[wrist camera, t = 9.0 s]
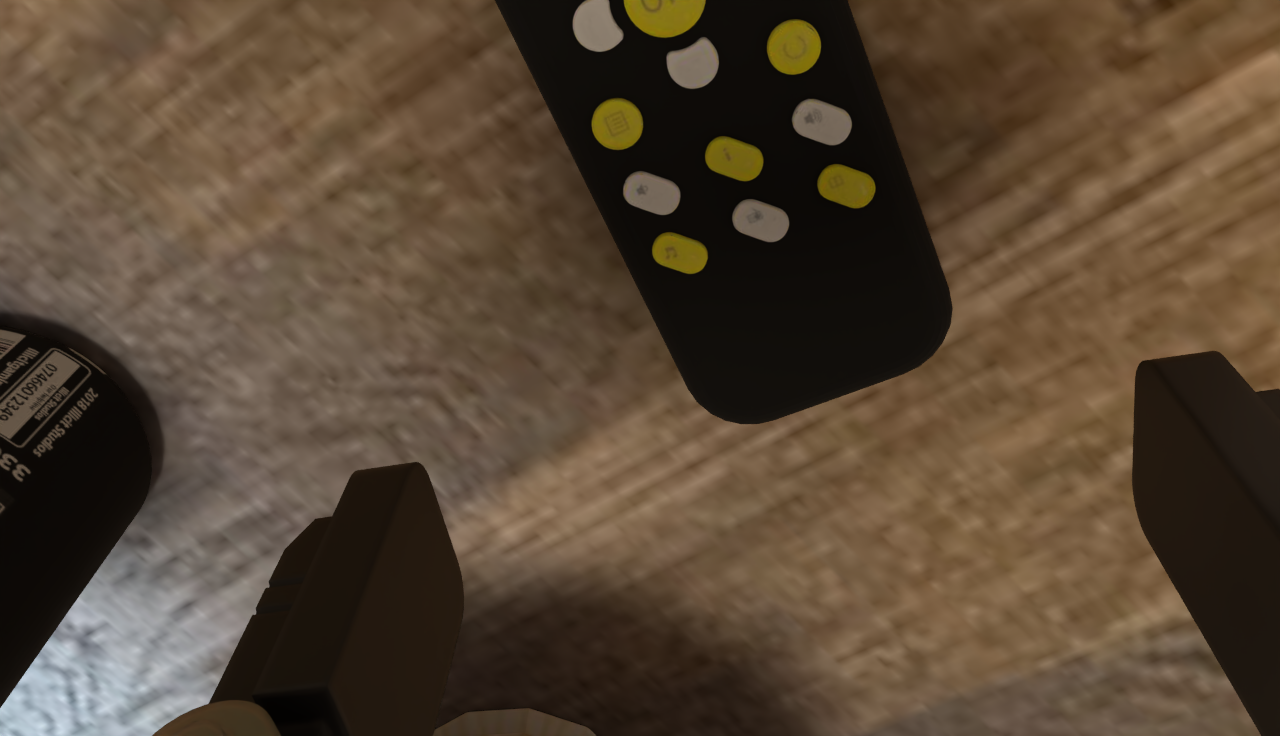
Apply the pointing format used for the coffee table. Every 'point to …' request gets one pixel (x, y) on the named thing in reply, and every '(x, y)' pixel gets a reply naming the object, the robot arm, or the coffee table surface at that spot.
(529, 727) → the bowl
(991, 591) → the coffee table surface
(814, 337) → the remote control
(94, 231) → the coffee table surface
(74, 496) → the beverage can
